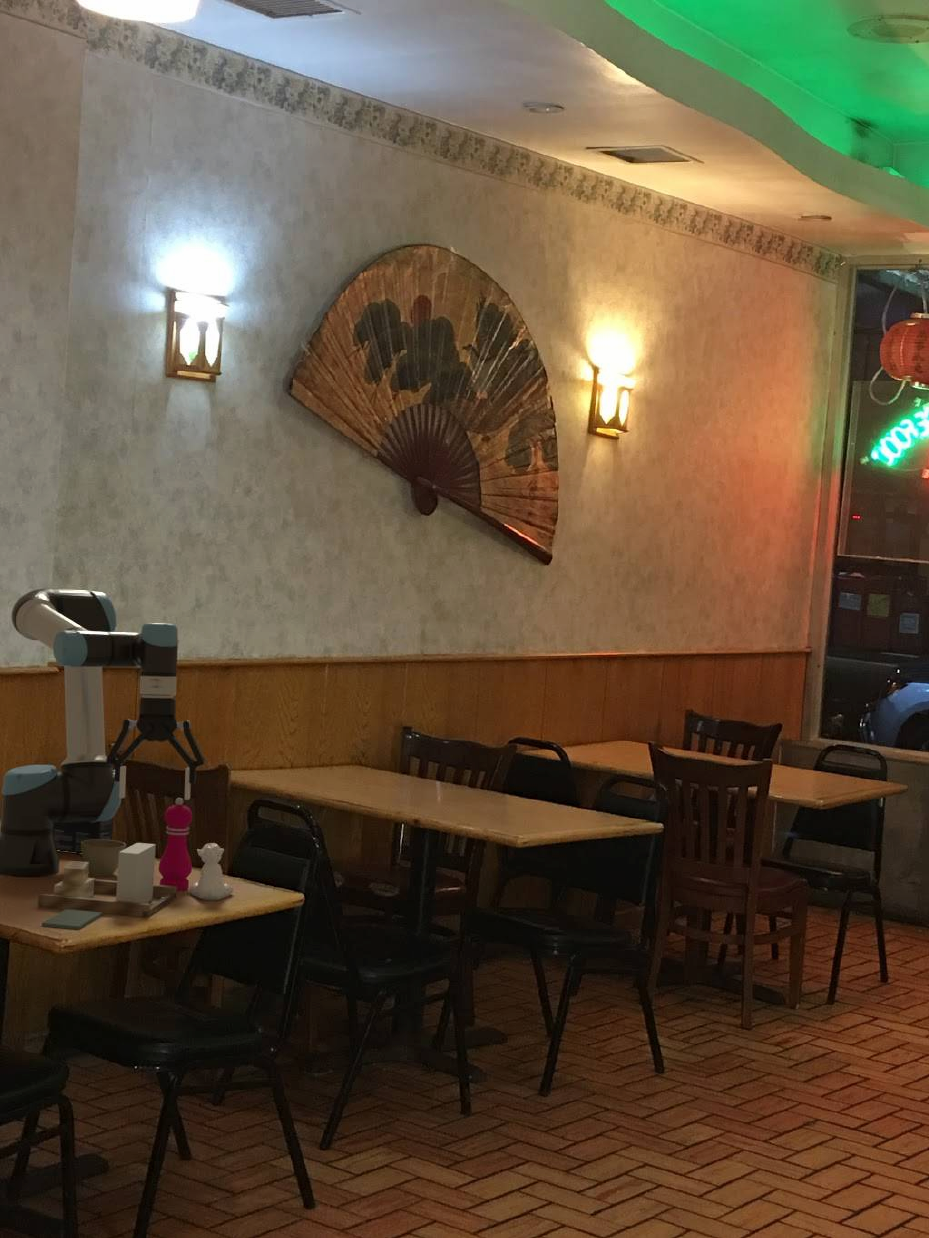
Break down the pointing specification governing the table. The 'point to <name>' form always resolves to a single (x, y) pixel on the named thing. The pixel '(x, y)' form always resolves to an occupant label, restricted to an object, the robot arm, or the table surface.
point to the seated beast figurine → (211, 875)
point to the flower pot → (102, 855)
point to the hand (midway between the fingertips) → (154, 798)
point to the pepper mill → (176, 847)
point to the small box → (80, 833)
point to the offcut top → (75, 873)
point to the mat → (72, 919)
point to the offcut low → (76, 889)
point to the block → (136, 873)
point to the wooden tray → (109, 905)
